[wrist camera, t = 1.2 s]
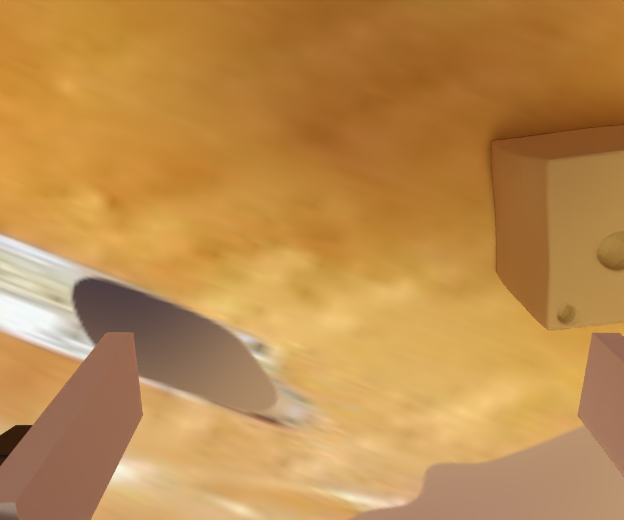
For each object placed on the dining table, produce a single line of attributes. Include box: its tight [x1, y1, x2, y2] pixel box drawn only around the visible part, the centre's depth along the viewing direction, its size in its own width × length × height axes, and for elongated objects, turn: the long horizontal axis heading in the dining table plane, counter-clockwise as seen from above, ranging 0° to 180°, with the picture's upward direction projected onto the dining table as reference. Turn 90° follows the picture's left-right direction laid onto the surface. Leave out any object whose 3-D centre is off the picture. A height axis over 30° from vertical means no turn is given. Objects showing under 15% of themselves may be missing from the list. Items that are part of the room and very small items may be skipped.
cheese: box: [492, 125, 624, 330], centre depth 34 cm, size 10×11×10 cm
